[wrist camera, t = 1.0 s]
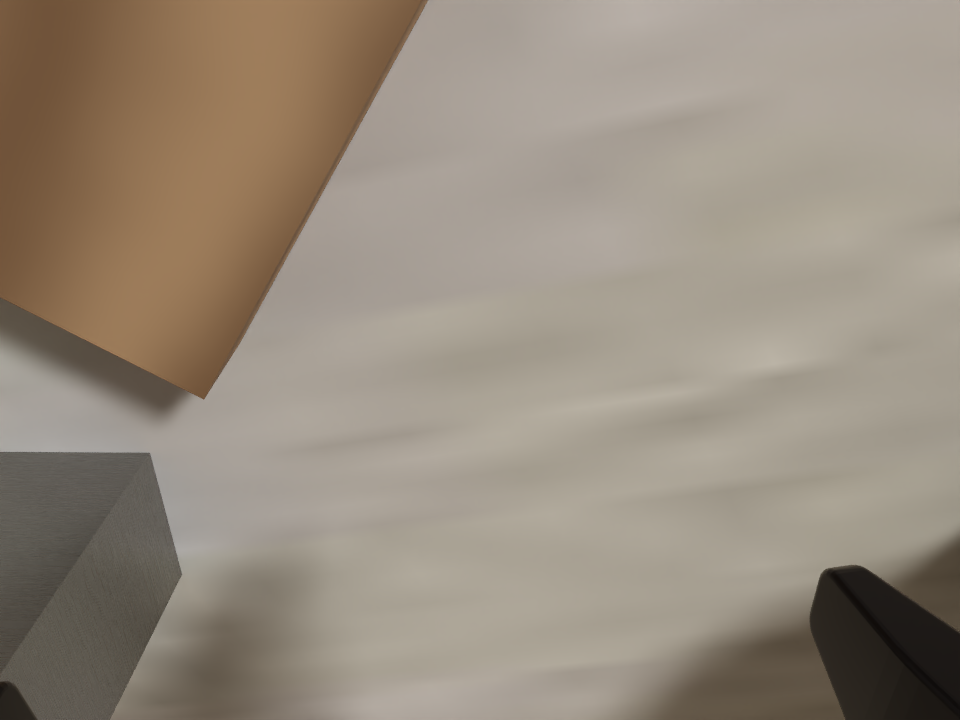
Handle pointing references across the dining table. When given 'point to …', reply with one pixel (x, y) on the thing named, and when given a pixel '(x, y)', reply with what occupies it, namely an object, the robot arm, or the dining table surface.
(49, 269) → the tan wooden flat block
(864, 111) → the dining table surface
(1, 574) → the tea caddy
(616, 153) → the dining table surface
